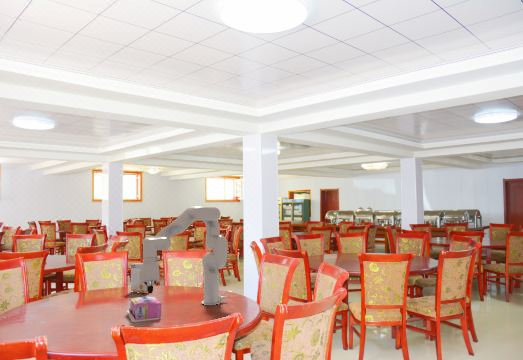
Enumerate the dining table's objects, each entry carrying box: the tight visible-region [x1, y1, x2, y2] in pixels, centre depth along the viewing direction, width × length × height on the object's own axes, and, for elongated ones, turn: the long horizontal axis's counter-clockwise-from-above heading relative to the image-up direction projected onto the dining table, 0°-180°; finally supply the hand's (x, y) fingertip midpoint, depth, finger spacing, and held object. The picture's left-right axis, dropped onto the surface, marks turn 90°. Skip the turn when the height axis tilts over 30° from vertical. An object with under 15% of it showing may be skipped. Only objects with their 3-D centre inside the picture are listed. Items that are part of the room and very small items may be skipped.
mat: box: [126, 310, 161, 323], centre depth 233 cm, size 14×26×1 cm, turn 24°
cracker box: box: [130, 262, 151, 294], centre depth 302 cm, size 14×6×21 cm, turn 58°
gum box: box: [128, 295, 162, 320], centre depth 233 cm, size 24×8×14 cm
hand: (150, 293), depth 235 cm, fingers closed
